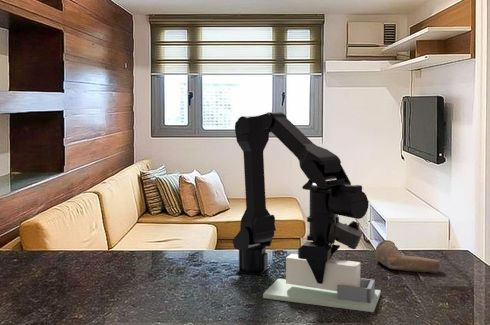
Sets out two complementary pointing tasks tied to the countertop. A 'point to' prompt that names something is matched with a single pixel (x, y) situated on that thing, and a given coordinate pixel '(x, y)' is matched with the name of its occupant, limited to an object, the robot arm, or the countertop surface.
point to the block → (334, 274)
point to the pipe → (403, 259)
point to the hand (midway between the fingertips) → (322, 280)
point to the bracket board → (328, 295)
